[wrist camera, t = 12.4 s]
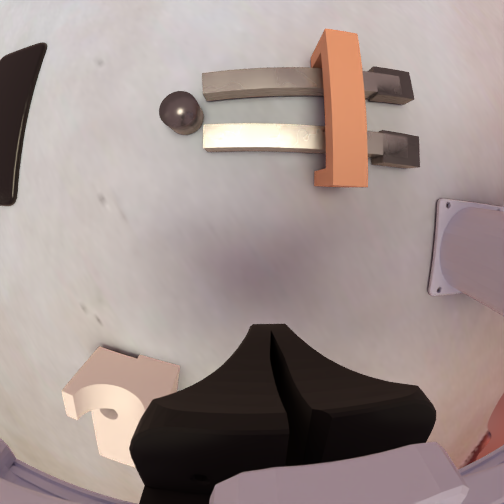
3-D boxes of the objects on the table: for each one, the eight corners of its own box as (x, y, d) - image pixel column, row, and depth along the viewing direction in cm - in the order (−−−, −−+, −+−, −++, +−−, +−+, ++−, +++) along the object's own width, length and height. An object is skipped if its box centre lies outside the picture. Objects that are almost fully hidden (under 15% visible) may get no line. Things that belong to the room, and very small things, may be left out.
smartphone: (4, 58, 16) (-23, 202, 19) (-1, 56, 15) (-29, 203, 18) (52, 42, 16) (19, 206, 20) (47, 39, 15) (13, 207, 19)
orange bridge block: (314, 186, 19) (333, 185, 15) (310, 57, 17) (325, 28, 13) (342, 187, 19) (367, 187, 15) (337, 61, 17) (357, 33, 13)
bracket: (103, 341, 22) (61, 390, 15) (180, 363, 22) (158, 426, 15) (110, 433, 25) (87, 481, 17) (170, 452, 25) (157, 505, 18)
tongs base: (169, 161, 19) (157, 157, 16) (170, 104, 18) (160, 93, 15) (406, 168, 19) (424, 166, 16) (403, 115, 18) (420, 108, 16)
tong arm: (206, 104, 18) (203, 96, 16) (205, 76, 17) (201, 67, 16) (403, 104, 18) (414, 99, 16) (398, 79, 17) (408, 72, 16)
